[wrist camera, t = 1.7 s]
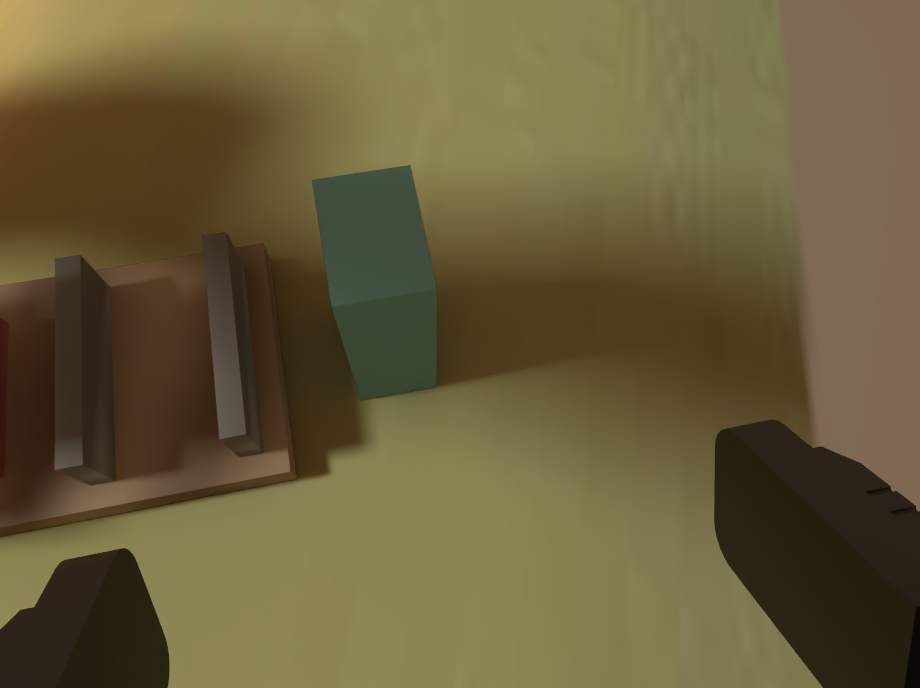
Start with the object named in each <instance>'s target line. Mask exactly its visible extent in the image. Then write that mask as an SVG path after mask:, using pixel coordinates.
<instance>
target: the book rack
mask: <svg viewBox="0 0 920 688" xmlns="http://www.w3.org/2000/svg"><path fill="white" fill-rule="evenodd" d="M202 238H203V250H204V253H202V254H195V255H189V256H183V257H177V258H170V259H164V260H158V261H152V262H145V263H139V264H133V265H127V266H120V267H114V268H108V269H102V270H94V269H93V268H92V267H91V266H90V265H89V264H88V263H87V262H86V261H85V259H84V258H83V257H82V256H81V255H76V256H70V257H64V258H57V259H55V277H52V278H45V279H39V280H33V281H26V282H20V283H14V284H8V285H1V286H0V537H1V536H6V535H11V534H16V533H21V532H26V531H32V530H37V529H42V528H47V527H52V526H57V525H62V524H68V523H73V522H78V521H83V520H88V519H93V518H98V517H104V516H109V515H114V514H119V513H124V512H129V511H134V510H139V509H145V508H150V507H155V506H160V505H165V504H170V503H175V502H181V501H186V500H191V499H196V498H201V497H206V496H211V495H217V494H222V493H227V492H232V491H237V490H242V489H247V488H252V487H258V486H263V485H268V484H273V483H278V482H283V481H288V480H294V479H297V476H296V468H295V460H294V451H293V443H292V435H291V427H290V419H289V410H288V402H287V394H286V386H285V378H284V370H283V361H282V353H281V345H280V337H279V329H278V320H277V312H276V304H275V296H274V288H273V279H272V271H271V263H270V258H269V256H268V253H267V251H266V249H265V247H264V244H258V245H252V246H246V247H239V248H234V246H233V244H232V242H231V240H230V238H229V236H228V234H227V232H223V233H216V234H210V235H204V236H202Z"/></svg>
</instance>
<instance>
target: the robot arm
mask: <svg viewBox="0 0 920 688" xmlns="http://www.w3.org/2000/svg"><path fill="white" fill-rule="evenodd" d="M714 523H715V531H716V536H717V539H718V543H719V546H720V549H721V551H722V553H723V556H724V558H725V560H726V561H727V563H728V565H729V566H730V567H731V569H732V570H733V571H734V573H735V574H736V575H737V577H738V578H739V579H740V581H741V582H742V583H743V584H744V586H745V587H746V588H747V590H748V591H749V592H750V594H751V595H752V596H753V597H754V599H755V600H756V601H757V603H758V604H759V605H760V606H761V608H762V609H763V610H764V612H765V613H766V614H767V616H768V617H769V618H770V619H771V621H772V622H773V623H774V625H775V626H776V627H777V629H778V630H779V631H780V632H781V634H782V635H783V636H784V638H785V639H786V640H787V641H788V643H789V644H790V645H791V647H792V648H793V649H794V651H795V652H796V653H797V654H798V656H799V657H800V658H801V660H802V661H803V662H804V664H805V665H806V666H807V667H808V669H809V670H810V671H811V673H812V674H813V675H814V677H815V678H816V679H817V680H818V682H819V683H820V684H821V686H822V687H823V688H920V512H918V511H917V510H916V506H915V505H914V504H913V503H911V502H910V501H909V500H907V499H906V498H905V497H904V496H902V495H901V494H900V493H898V492H897V491H894V492H892V491H891V488H890V486H889V485H888V484H887V483H886V482H884V481H883V480H882V479H880V478H879V477H878V476H876V475H875V474H874V473H872V472H871V471H870V470H869V469H867V468H866V467H865V466H864V465H862V464H861V463H859V462H857V461H854V460H852V459H849V458H847V457H845V456H842V455H840V454H838V453H835V452H833V451H831V450H828V449H826V448H823V447H817V448H812V447H811V446H809V445H808V444H807V443H806V442H804V441H803V440H802V439H801V438H800V437H798V436H797V435H796V434H795V433H794V432H792V431H791V430H790V429H789V428H787V427H786V426H785V425H784V424H782V423H781V422H780V421H777V420H767V421H762V422H757V423H752V424H747V425H742V426H737V427H732V428H727V429H723V430H721V431H720V432H719V433H718V435H717V437H716V442H715V502H714ZM168 681H169V653H168V647H167V642H166V638H165V635H164V632H163V630H162V627H161V624H160V622H159V619H158V617H157V614H156V611H155V609H154V606H153V603H152V601H151V598H150V595H149V593H148V590H147V588H146V585H145V582H144V580H143V577H142V574H141V572H140V569H139V567H138V564H137V562H136V559H135V557H134V556H133V554H132V553H131V552H130V551H129V550H128V549H125V548H123V549H118V550H113V551H108V552H103V553H98V554H93V555H88V556H83V557H78V558H73V559H68V560H64V561H62V562H61V563H60V564H59V565H58V566H57V567H56V569H55V571H54V573H53V574H52V576H51V578H50V580H49V582H48V583H47V585H46V587H45V589H44V591H43V593H42V594H41V596H40V598H39V600H38V602H37V603H36V605H35V607H33V608H28V609H23V610H20V611H19V612H18V613H17V614H16V615H15V616H14V617H13V618H12V619H11V620H10V621H9V622H8V623H7V624H6V625H5V626H4V627H2V628H1V629H0V688H167V687H168Z"/></svg>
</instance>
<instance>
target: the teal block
mask: <svg viewBox="0 0 920 688" xmlns="http://www.w3.org/2000/svg"><path fill="white" fill-rule="evenodd" d="M312 184H313V190H314V197H315V203H316V210H317V216H318V223H319V229H320V236H321V242H322V249H323V255H324V262H325V268H326V275H327V281H328V288H329V294H330V301H331V307H332V310H333V314H334V317H335V320H336V323H337V326H338V329H339V333H340V336H341V339H342V342H343V345H344V349H345V352H346V355H347V358H348V361H349V364H350V368H351V371H352V374H353V377H354V380H355V384H356V387H357V390H358V393H359V396H360V399H361V400H366V399H372V398H377V397H383V396H388V395H393V394H399V393H404V392H410V391H415V390H421V389H426V388H431V387H437V286H436V282H435V277H434V272H433V268H432V263H431V259H430V254H429V249H428V245H427V240H426V235H425V231H424V226H423V222H422V217H421V212H420V208H419V203H418V198H417V194H416V189H415V184H414V180H413V175H412V171H411V166H410V165H408V166H401V167H395V168H388V169H382V170H375V171H368V172H362V173H355V174H348V175H342V176H335V177H329V178H322V179H315V180H312Z"/></svg>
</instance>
